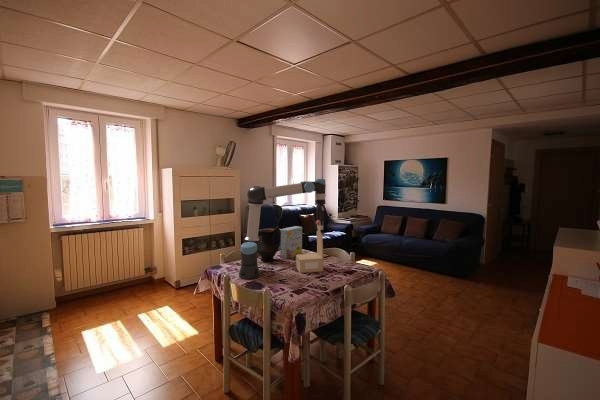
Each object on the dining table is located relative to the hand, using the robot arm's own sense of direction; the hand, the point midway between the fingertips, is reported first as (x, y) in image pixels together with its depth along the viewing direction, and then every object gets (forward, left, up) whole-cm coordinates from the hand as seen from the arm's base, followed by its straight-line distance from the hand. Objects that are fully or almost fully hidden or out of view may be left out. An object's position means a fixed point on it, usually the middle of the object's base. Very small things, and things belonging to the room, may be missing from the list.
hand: (320, 228), depth 221 cm
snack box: (-15, +38, -31) cm, 51 cm away
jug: (-37, +28, -31) cm, 56 cm away
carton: (-9, 0, -31) cm, 32 cm away
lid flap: (-2, 0, -7) cm, 7 cm away
